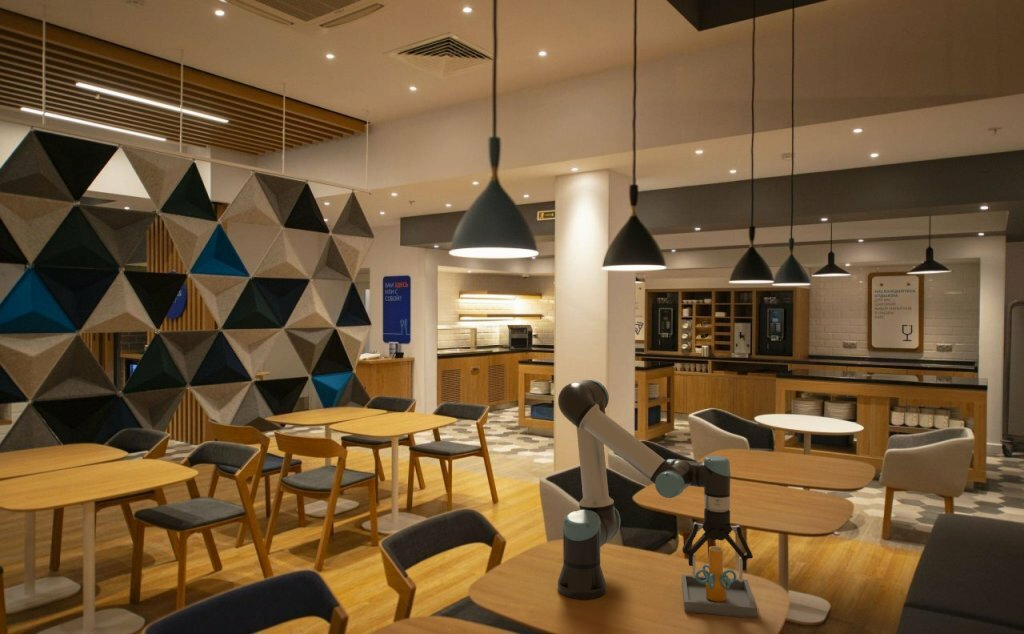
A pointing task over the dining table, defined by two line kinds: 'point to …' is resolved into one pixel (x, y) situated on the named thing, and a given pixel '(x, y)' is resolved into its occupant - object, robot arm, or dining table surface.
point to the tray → (734, 605)
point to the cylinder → (716, 576)
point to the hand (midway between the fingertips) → (717, 578)
